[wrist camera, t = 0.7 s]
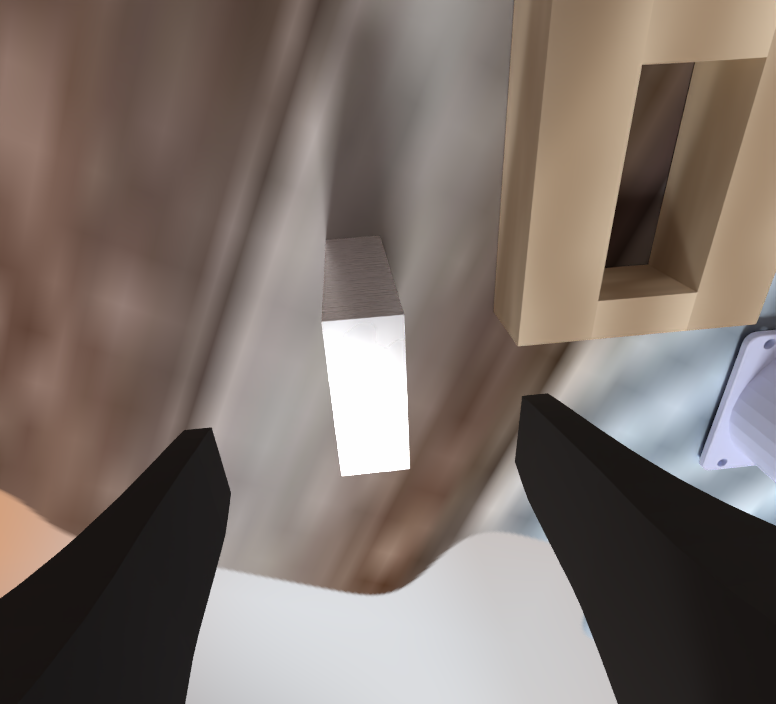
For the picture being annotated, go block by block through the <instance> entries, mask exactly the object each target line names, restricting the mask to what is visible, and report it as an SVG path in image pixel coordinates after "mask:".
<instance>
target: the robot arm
mask: <svg viewBox="0 0 776 704" xmlns="http://www.w3.org/2000/svg"><path fill="white" fill-rule="evenodd" d="M766 341H767V342H766ZM765 342H766V343H765ZM515 463H516V466H517V469H518V472H519V475H520V478H521V481H522V484H523V487H524V489H525V492H526V495H527V498H528V500H529V502H530V504H531V506H532V509H533V511H534V513H535V515H536V517H537V519H538V521H539V523H540V525H541V527H542V529H543V531H544V533H545V535H546V537H547V539H548V541H549V543H550V544H551V546H552V548H553V550H554V552H555V554H556V556H557V558H558V560H559V562H560V564H561V566H562V568H563V570H564V572H565V574H566V576H567V578H568V580H569V582H570V584H571V586H572V588H573V590H574V592H575V595H576V597H577V599H578V601H579V603H580V606H581V608H582V610H583V613H584V615H585V618H586V621H587V623H588V626H589V628H590V631H591V633H592V636H593V638H594V641H595V643H596V646H597V648H598V651H599V654H600V657H601V659H602V662H603V665H604V667H605V670H606V673H607V676H608V678H609V681H610V684H611V686H612V689H613V692H614V694H615V697H616V700H617V703H618V704H776V526H775V525H773V524H771V523H768V522H766V521H764V520H762V519H759V518H757V517H755V516H753V515H750V514H748V513H746V512H744V511H742V510H739V509H737V508H735V507H733V506H731V505H729V504H727V503H725V502H723V501H721V500H719V499H717V498H715V497H713V496H711V495H709V494H707V493H705V492H703V491H701V490H700V489H698V488H696V487H694V486H692V485H690V484H688V483H686V482H684V481H682V480H681V479H679V478H677V477H675V476H673V475H672V474H670V473H668V472H667V471H665V470H663V469H662V468H660V467H658V466H657V465H655V464H653V463H652V462H650V461H648V460H647V459H645V458H643V457H642V456H640V455H638V454H637V453H635V452H634V451H632V450H630V449H629V448H627V447H626V446H624V445H623V444H621V443H620V442H618V441H617V440H615V439H614V438H612V437H611V436H609V435H608V434H606V433H605V432H603V431H602V430H600V429H599V428H597V427H596V426H594V425H593V424H592V423H590V422H589V421H587V420H586V419H584V418H583V417H582V416H580V415H579V414H577V413H576V412H574V411H573V410H572V409H570V408H569V407H567V406H566V405H564V404H563V403H561V402H560V401H558V400H557V399H555V398H554V397H552V396H551V395H549V394H548V393H547V394H537V395H527V396H522V403H521V412H520V421H519V430H518V439H517V448H516V457H515ZM699 464H700V465H701V466H702V467H703V468H704V469H705V470H717V469H726V468H735V467H744V466H753V465H756V466H758V467H759V468H760V469H761V470H762V471H763V472H764V473H765V474H766V475H768V476H769V477H770V478H771V479H772V480H773V481H774V482H775V483H776V330H768V331H757V332H753V333H751V334H749V335H748V336H747V337H746V338H745V339H744V341H743V342H742V345H741V348H740V351H739V353H738V356H737V359H736V362H735V364H734V367H733V370H732V372H731V375H730V378H729V381H728V383H727V386H726V389H725V392H724V394H723V397H722V400H721V402H720V405H719V408H718V411H717V413H716V416H715V419H714V422H713V424H712V427H711V430H710V432H709V435H708V438H707V441H706V443H705V446H704V449H703V452H702V454H701V457H700V460H699ZM230 497H231V491H230V488H229V485H228V481H227V478H226V475H225V471H224V468H223V464H222V461H221V458H220V454H219V451H218V448H217V444H216V441H215V437H214V434H213V431H212V427H211V428H202V429H192V430H184V431H183V432H182V433H181V434H180V435H179V436H178V437H177V438H176V439H175V440H174V441H173V442H172V443H171V444H170V445H169V446H168V447H167V448H166V449H165V450H164V451H163V452H162V453H161V454H160V456H159V457H158V458H157V459H156V460H155V461H154V462H153V463H152V464H151V465H150V466H149V467H148V468H147V469H146V470H145V471H144V472H143V473H142V474H141V475H140V476H139V477H138V478H137V479H136V480H135V481H134V482H133V483H132V484H131V485H130V486H129V488H128V489H127V490H126V491H125V492H124V493H123V494H122V495H121V496H120V497H119V498H118V499H117V500H115V501H114V502H113V503H112V504H111V505H110V506H109V507H108V508H107V509H106V510H105V511H104V512H103V513H102V514H101V515H99V516H98V517H97V518H96V519H95V520H94V521H93V522H92V523H91V524H90V525H89V526H88V527H87V528H86V529H85V530H84V531H82V532H81V533H80V534H79V535H78V536H77V537H76V538H75V539H74V540H72V541H71V542H70V543H69V544H68V545H67V546H66V547H65V548H63V549H62V550H61V551H60V552H59V553H57V554H56V555H55V556H54V557H53V558H51V559H50V560H49V561H48V562H47V563H45V564H44V565H43V566H42V567H40V568H39V569H38V570H37V571H35V572H34V573H33V574H32V575H30V576H29V577H28V578H27V579H26V580H24V581H23V582H22V583H20V584H19V585H18V586H17V587H15V588H14V589H13V590H11V591H10V592H9V593H7V594H6V595H4V596H3V597H2V598H0V704H185V701H186V695H187V689H188V684H189V678H190V672H191V667H192V661H193V656H194V651H195V647H196V643H197V638H198V634H199V631H200V627H201V623H202V619H203V616H204V612H205V609H206V605H207V601H208V598H209V594H210V590H211V587H212V583H213V579H214V576H215V572H216V568H217V565H218V561H219V557H220V553H221V550H222V546H223V542H224V538H225V533H226V527H227V520H228V513H229V505H230Z"/></svg>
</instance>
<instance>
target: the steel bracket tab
mask: <svg viewBox="0 0 776 704" xmlns="http://www.w3.org/2000/svg"><path fill="white" fill-rule="evenodd" d="M321 322H322V330H323V337H324V345H325V352H326V360H327V368H328V375H329V383H330V390H331V398H332V406H333V413H334V421H335V428H336V436H337V444H338V451H339V459H340V466H341V474H342V476H345V475H355V474H364V473H373V472H383V471H392V470H401V469H410V465H409V436H408V408H407V379H406V351H405V322H404V312H403V309H402V306H401V303H400V299H399V296H398V293H397V290H396V286H395V283H394V280H393V276H392V273H391V270H390V267H389V263H388V260H387V257H386V254H385V250H384V247H383V244H382V241H381V237H380V235H379V236H366V237H353V238H340V239H327V240H326V246H325V265H324V284H323V302H322V321H321Z"/></svg>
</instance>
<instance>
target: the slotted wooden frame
mask: <svg viewBox="0 0 776 704" xmlns="http://www.w3.org/2000/svg"><path fill="white" fill-rule="evenodd" d="M686 62H695V65H694V69H693V74H692V78H691V82H690V87H689V91H688V95H687V99H686V104H685V108H684V112H683V117H682V121H681V125H680V130H679V134H678V138H677V142H676V147H675V151H674V155H673V160H672V164H671V168H670V173H669V177H668V181H667V185H666V190H665V194H664V198H663V203H662V207H661V211H660V215H659V220H658V224H657V228H656V233H655V237H654V241H653V246H652V250H651V254H650V258H649V263H648V264H647V265H635V266H623V267H611V268H604V267H605V262H606V256H607V251H608V245H609V240H610V235H611V229H612V224H613V219H614V213H615V208H616V202H617V197H618V192H619V186H620V181H621V175H622V170H623V165H624V159H625V154H626V149H627V143H628V138H629V132H630V127H631V122H632V116H633V111H634V105H635V100H636V95H637V89H638V84H639V79H640V73H641V68H642V65H650V64H668V63H686ZM775 272H776V0H514V14H513V29H512V44H511V59H510V73H509V88H508V103H507V118H506V133H505V147H504V162H503V177H502V192H501V207H500V221H499V236H498V251H497V266H496V281H495V295H494V310H493V312H494V313H495V314H496V316H497V317H498V319H499V320H500V322H501V323H502V324H503V326H504V327H505V329H506V330H507V331H508V333H509V334H510V336H511V337H512V338H513V340H514V341H515V343H516V344H517V346H526V345H537V344H548V343H558V342H569V341H580V340H591V339H601V338H612V337H623V336H634V335H645V334H655V333H666V332H677V331H688V330H699V329H709V328H720V327H731V326H742V325H752V324H756V323H757V320H758V318H759V315H760V312H761V310H762V307H763V304H764V302H765V299H766V296H767V294H768V291H769V288H770V286H771V283H772V280H773V278H774V275H775Z"/></svg>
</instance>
